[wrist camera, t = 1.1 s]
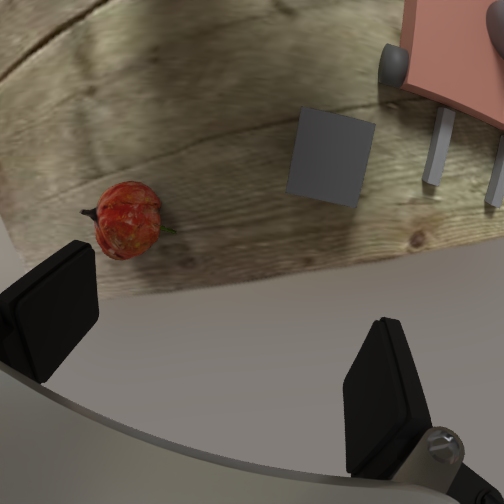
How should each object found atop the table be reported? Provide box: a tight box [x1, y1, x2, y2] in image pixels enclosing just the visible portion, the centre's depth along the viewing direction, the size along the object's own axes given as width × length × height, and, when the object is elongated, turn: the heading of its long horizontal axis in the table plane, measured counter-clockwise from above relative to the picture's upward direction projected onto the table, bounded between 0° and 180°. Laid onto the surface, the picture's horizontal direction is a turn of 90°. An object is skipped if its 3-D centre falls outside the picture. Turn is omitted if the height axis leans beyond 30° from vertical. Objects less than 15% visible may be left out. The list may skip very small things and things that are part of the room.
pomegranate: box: [79, 181, 176, 260], centre depth 29 cm, size 7×7×10 cm
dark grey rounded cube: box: [286, 107, 376, 208], centre depth 23 cm, size 6×5×7 cm
